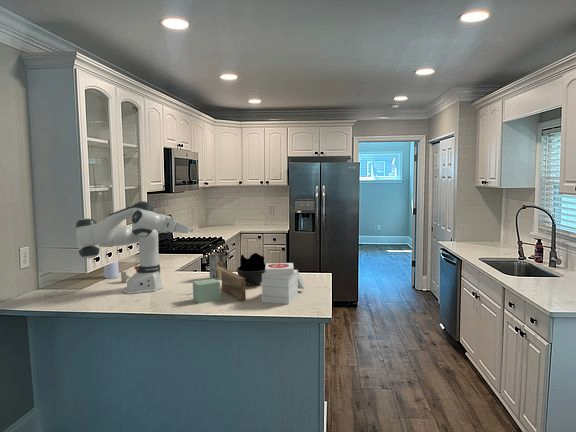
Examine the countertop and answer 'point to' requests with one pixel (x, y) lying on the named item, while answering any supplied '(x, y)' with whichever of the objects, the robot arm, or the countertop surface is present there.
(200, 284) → the sage block
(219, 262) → the coffee box
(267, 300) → the pizza box stack
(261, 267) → the coal bowl
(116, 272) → the soap bottle
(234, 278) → the walnut backstop board
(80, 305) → the countertop surface
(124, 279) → the architectural model
